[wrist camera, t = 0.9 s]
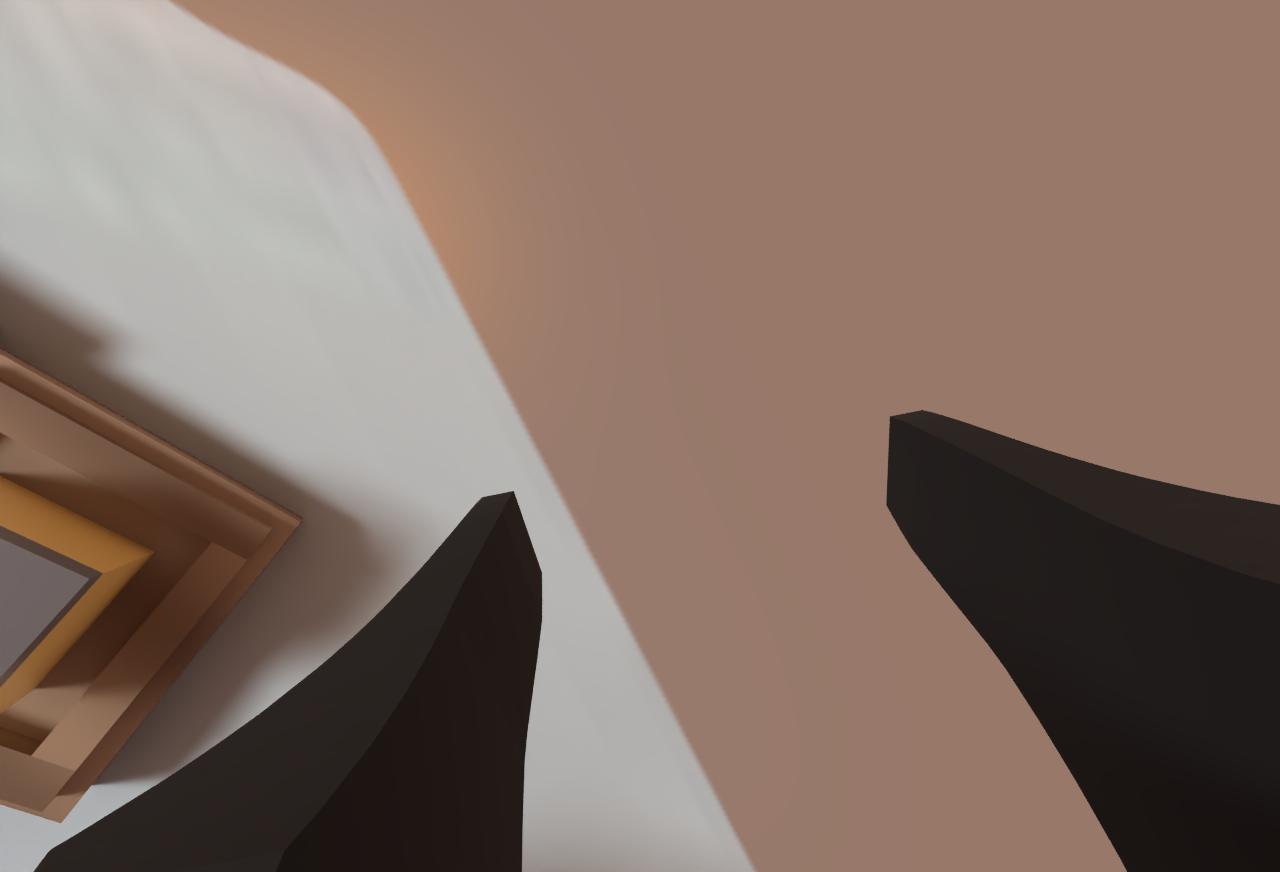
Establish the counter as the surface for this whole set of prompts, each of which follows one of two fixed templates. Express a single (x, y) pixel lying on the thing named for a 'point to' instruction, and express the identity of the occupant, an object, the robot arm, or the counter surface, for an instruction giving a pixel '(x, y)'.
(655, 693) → the counter surface
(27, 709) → the upper socket
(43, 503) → the plug
